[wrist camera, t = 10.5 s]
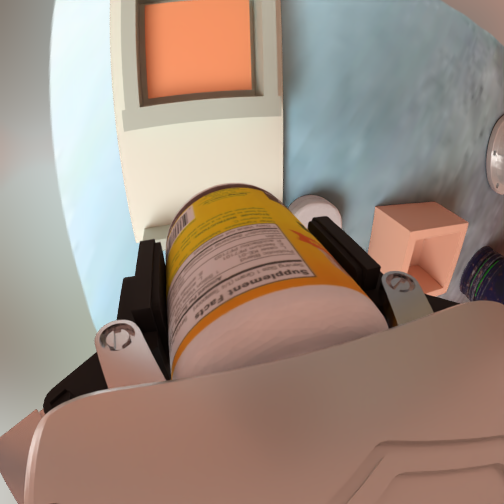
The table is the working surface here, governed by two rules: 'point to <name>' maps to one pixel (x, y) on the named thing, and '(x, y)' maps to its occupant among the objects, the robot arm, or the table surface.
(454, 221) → the cup
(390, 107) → the table surface
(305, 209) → the electronic device
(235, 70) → the cradle plate
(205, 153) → the cream tray with frame
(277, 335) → the supplement bottle
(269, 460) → the robot arm
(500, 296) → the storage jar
